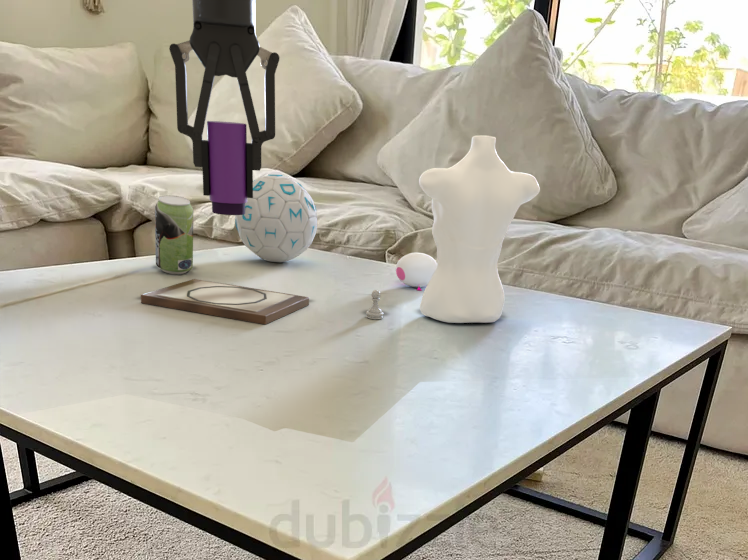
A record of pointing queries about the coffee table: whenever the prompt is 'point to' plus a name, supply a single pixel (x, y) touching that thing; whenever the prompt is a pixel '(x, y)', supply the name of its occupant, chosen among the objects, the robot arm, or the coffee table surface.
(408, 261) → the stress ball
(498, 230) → the torso sculpture
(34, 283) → the coffee table surface
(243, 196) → the dot marker
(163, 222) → the beverage can
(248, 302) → the drawing board
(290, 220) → the puzzle ball
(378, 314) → the pawn
